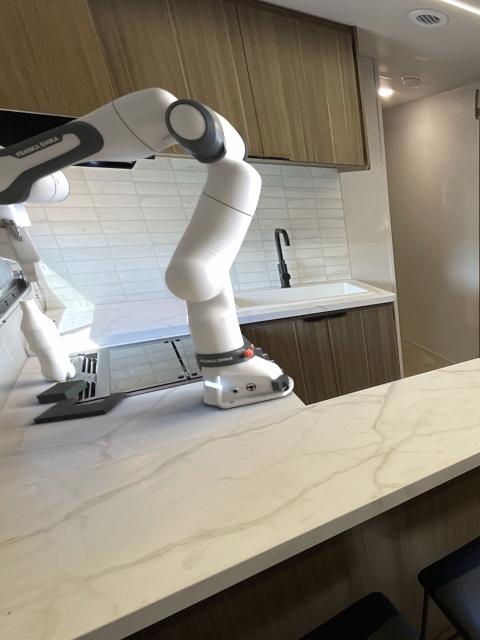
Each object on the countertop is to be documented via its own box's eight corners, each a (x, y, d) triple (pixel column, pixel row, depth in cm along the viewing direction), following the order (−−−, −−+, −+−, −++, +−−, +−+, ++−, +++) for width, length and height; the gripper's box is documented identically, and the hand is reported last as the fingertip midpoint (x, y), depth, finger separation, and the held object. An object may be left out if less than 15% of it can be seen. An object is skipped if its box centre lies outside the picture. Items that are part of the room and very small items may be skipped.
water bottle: (57, 383, 123) (19, 303, 113) (39, 382, 124) (0, 302, 114) (84, 375, 129) (50, 297, 120) (66, 373, 131) (31, 297, 121)
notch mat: (126, 395, 115) (125, 391, 114) (105, 413, 104) (103, 409, 104) (63, 403, 110) (62, 399, 110) (35, 423, 100) (33, 419, 99)
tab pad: (87, 386, 121) (84, 379, 120) (68, 400, 112) (64, 392, 111) (61, 389, 119) (58, 382, 118) (40, 403, 110) (36, 396, 109)
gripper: (33, 219, 89) (59, 282, 95) (9, 217, 99) (33, 274, 104) (-10, 219, 84) (19, 285, 90) (-31, 217, 94) (-4, 277, 99)
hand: (27, 279), depth 97 cm, fingers open, 8 cm apart
